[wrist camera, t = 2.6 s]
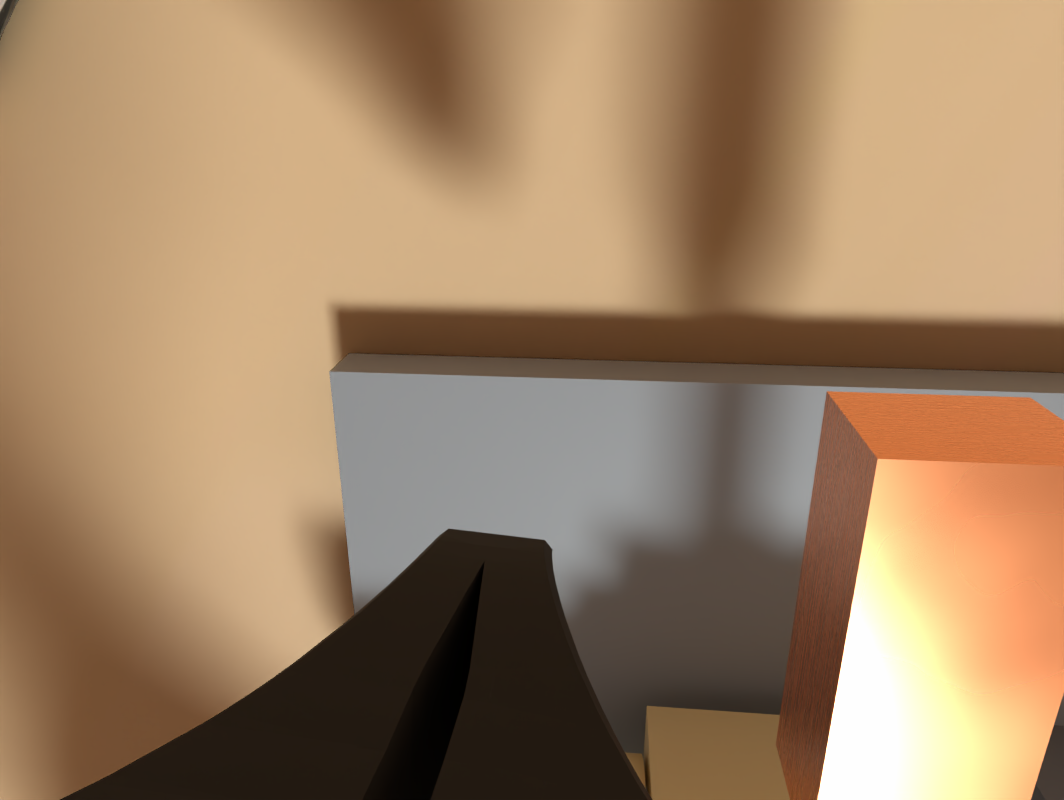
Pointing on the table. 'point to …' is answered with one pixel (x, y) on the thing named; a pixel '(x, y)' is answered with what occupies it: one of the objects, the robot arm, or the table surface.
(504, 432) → the valve board
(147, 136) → the table surface
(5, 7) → the candy bar box
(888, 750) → the valve lever
